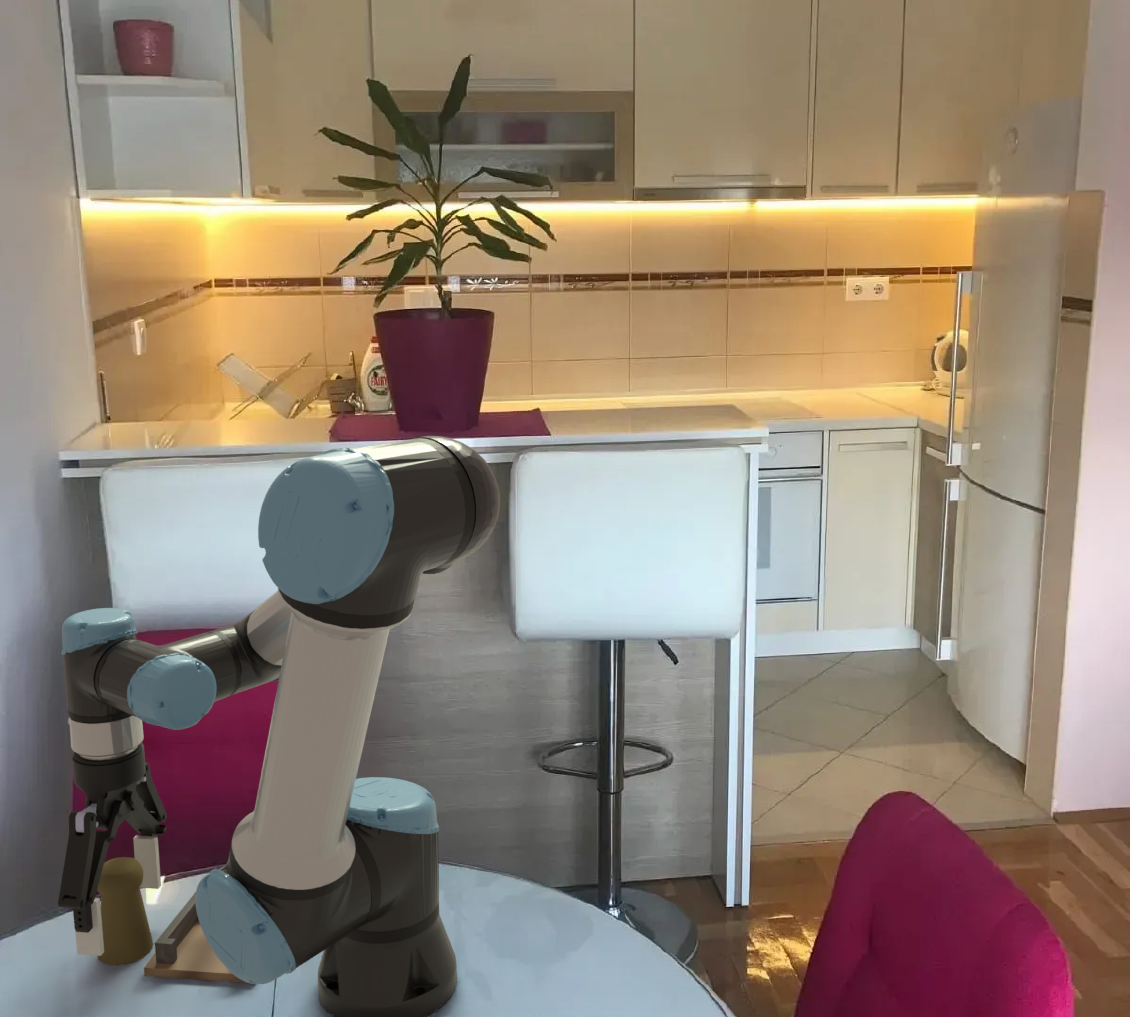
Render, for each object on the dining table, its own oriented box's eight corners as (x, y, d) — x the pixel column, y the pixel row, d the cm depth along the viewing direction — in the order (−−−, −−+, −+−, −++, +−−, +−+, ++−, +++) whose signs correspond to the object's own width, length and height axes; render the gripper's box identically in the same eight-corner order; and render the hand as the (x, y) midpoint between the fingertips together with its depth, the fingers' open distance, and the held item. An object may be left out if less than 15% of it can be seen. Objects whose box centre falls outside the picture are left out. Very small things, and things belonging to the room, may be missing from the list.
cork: (134, 968, 127) (126, 879, 125) (86, 961, 128) (78, 873, 126) (163, 938, 133) (156, 852, 130) (117, 932, 134) (109, 847, 132)
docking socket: (296, 918, 137) (295, 892, 136) (256, 983, 124) (254, 955, 123) (194, 911, 138) (192, 885, 137) (144, 975, 125) (141, 947, 125)
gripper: (130, 702, 138) (141, 860, 142) (10, 795, 113) (28, 982, 118) (188, 706, 137) (198, 864, 141) (80, 800, 113) (96, 987, 117)
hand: (121, 918), depth 130 cm, fingers open, 13 cm apart
